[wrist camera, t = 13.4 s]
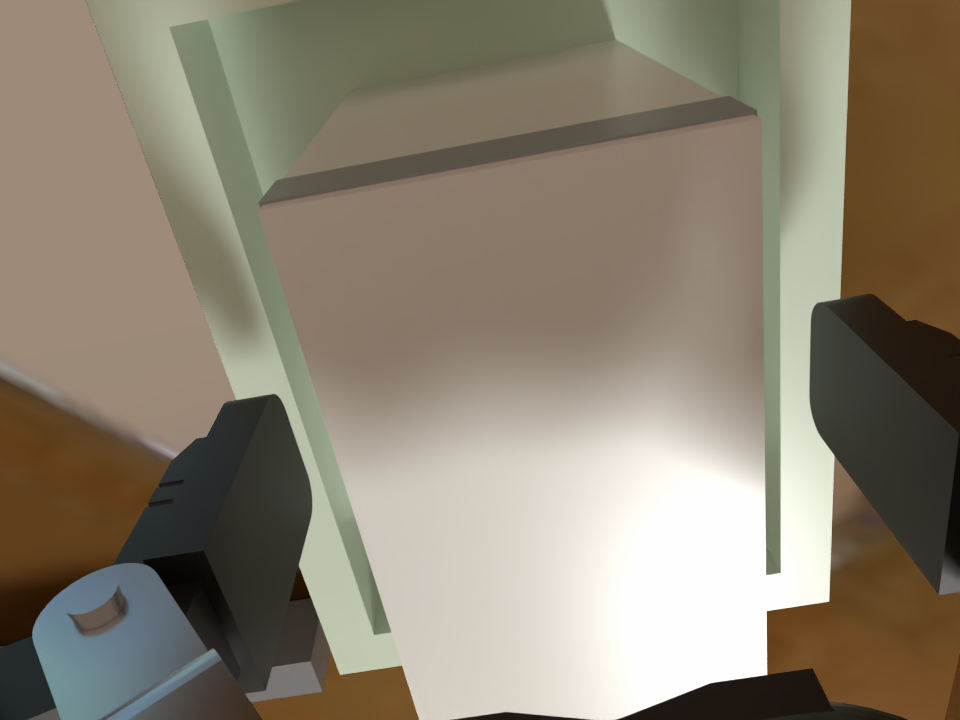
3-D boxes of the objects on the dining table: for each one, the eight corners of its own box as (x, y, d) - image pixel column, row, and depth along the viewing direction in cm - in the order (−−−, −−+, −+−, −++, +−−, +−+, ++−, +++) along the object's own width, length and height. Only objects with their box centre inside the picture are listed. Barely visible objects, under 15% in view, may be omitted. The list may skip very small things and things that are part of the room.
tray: (785, -175, 12) (858, -202, 10) (784, 523, 19) (829, 601, 16) (138, -39, 13) (71, -38, 11) (353, 591, 19) (339, 674, 17)
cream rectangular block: (617, 37, 13) (765, 114, 7) (656, 476, 17) (770, 774, 11) (348, 88, 13) (253, 209, 7) (451, 509, 17) (448, 819, 11)
